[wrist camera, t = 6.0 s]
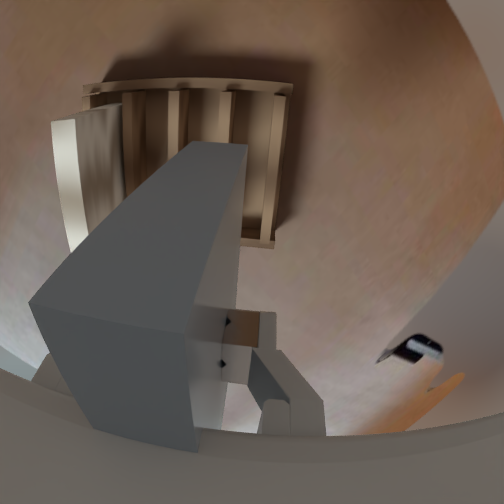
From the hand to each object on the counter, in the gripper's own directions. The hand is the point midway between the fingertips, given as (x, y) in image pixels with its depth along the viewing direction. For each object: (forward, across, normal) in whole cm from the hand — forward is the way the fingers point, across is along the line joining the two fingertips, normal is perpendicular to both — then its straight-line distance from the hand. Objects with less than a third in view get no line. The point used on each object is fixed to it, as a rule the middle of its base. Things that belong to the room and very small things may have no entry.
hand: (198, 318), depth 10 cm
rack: (+20, +5, 0) cm, 20 cm away
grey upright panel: (+4, 0, 0) cm, 4 cm away
